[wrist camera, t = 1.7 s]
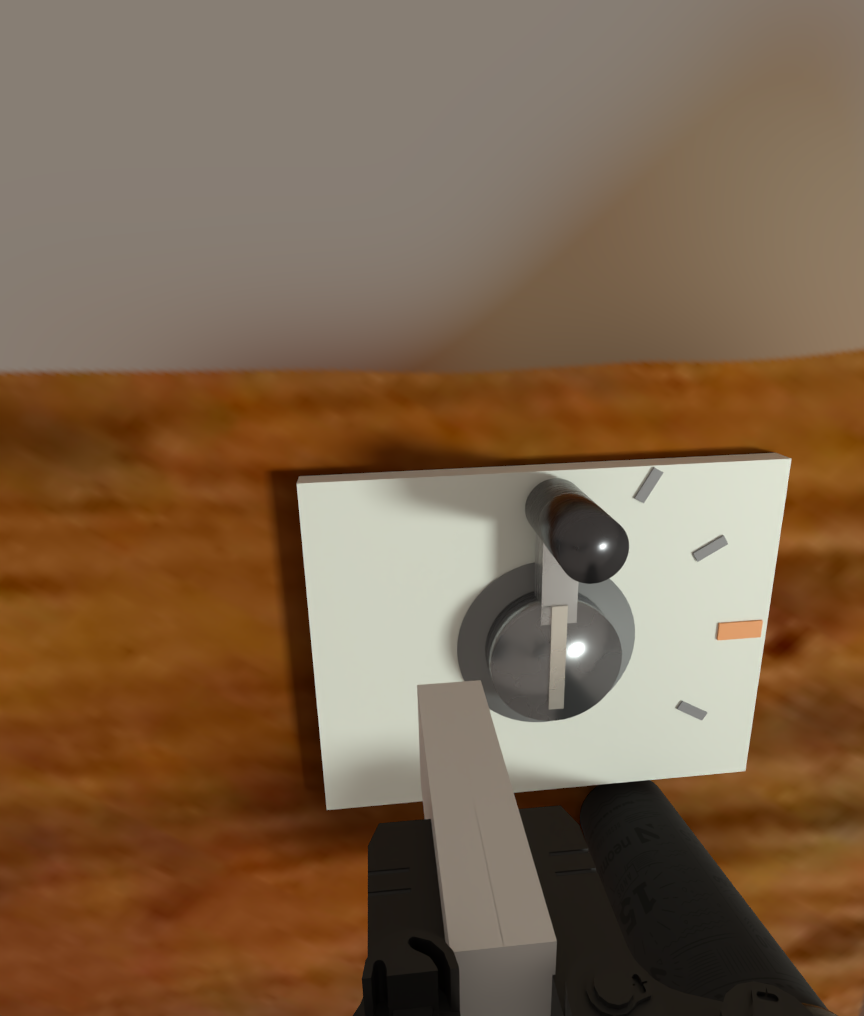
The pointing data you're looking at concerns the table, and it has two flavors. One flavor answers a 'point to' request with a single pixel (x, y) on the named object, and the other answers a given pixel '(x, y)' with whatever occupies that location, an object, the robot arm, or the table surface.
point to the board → (510, 574)
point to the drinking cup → (679, 900)
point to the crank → (560, 611)
